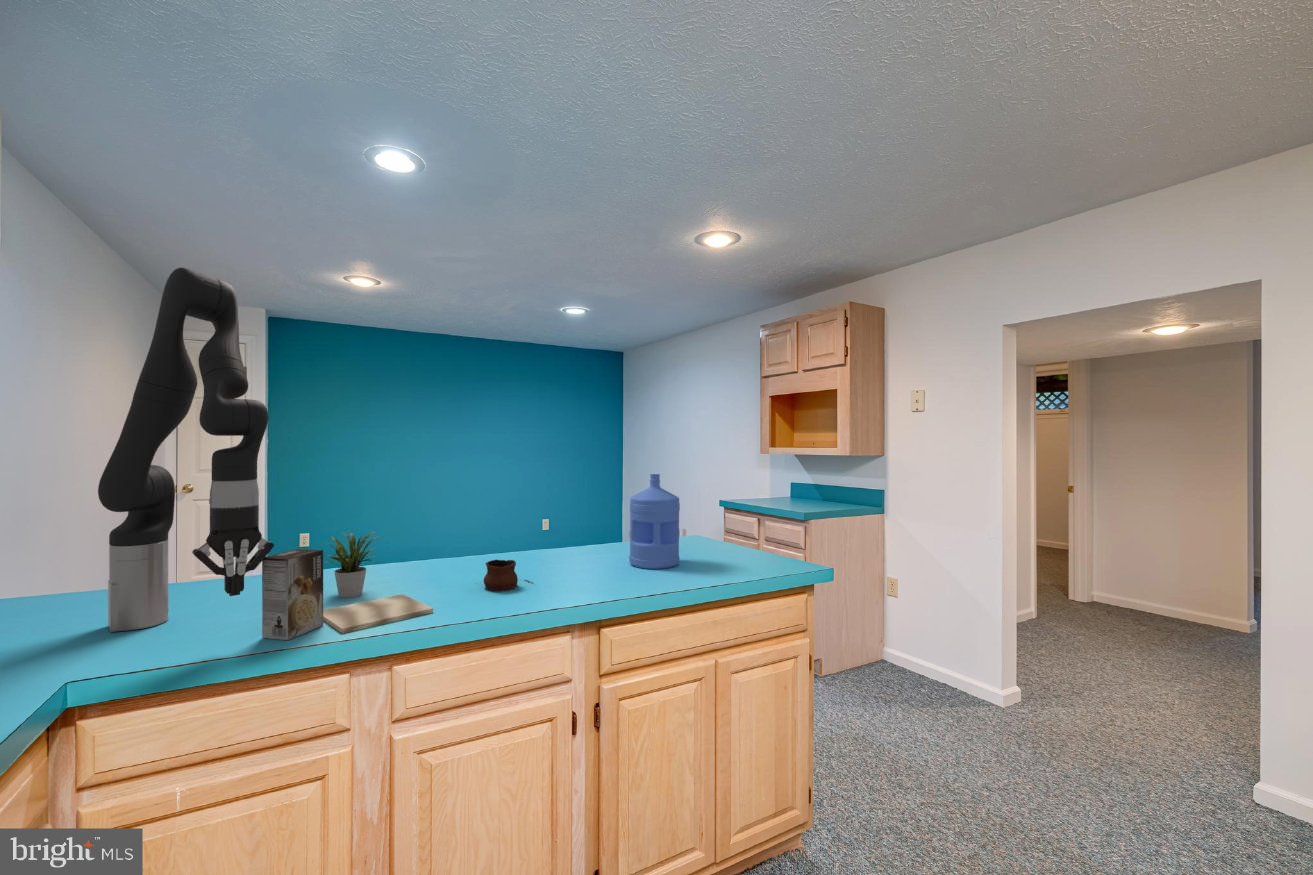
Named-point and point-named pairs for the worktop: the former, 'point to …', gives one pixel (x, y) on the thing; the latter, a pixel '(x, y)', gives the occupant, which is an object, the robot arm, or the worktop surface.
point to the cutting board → (374, 613)
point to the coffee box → (292, 593)
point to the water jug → (654, 527)
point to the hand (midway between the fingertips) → (234, 594)
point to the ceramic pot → (501, 575)
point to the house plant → (350, 566)
